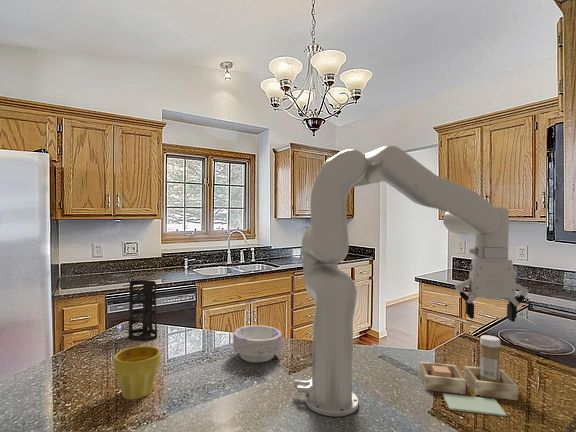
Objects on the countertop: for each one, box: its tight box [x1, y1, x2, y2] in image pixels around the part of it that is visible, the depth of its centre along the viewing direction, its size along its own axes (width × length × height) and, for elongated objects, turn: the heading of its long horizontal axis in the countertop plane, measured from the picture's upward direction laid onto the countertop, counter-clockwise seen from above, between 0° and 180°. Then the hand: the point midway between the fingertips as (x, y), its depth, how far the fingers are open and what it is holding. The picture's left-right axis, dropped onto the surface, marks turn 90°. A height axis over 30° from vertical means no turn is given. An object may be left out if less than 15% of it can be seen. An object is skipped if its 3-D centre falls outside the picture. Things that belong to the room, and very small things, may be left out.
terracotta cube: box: [431, 365, 451, 378], centre depth 93 cm, size 4×4×4 cm
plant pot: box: [113, 345, 161, 401], centre depth 85 cm, size 10×10×10 cm
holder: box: [128, 279, 158, 341], centre depth 125 cm, size 11×8×20 cm
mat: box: [442, 392, 508, 417], centre depth 83 cm, size 12×7×1 cm, turn 78°
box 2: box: [463, 365, 519, 401], centre depth 91 cm, size 10×10×4 cm
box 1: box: [418, 361, 467, 395], centre depth 93 cm, size 10×10×4 cm
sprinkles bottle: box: [479, 334, 501, 383], centre depth 91 cm, size 5×5×13 cm
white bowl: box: [232, 324, 283, 364], centre depth 109 cm, size 15×15×8 cm
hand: (490, 318), depth 91 cm, fingers open, 9 cm apart
